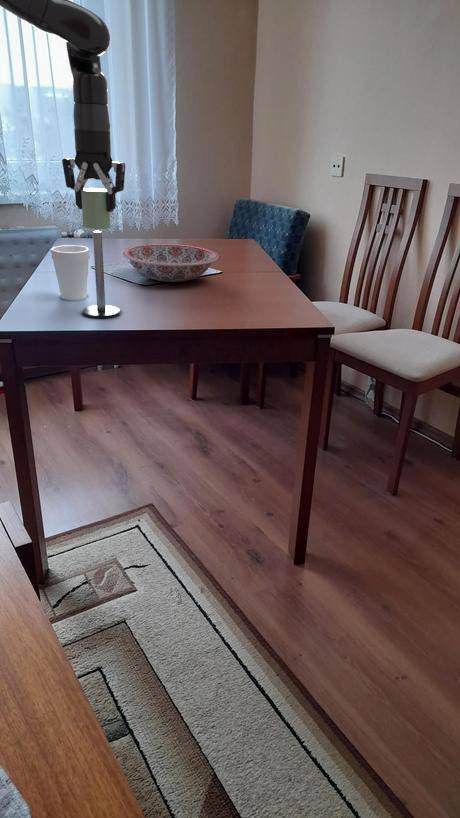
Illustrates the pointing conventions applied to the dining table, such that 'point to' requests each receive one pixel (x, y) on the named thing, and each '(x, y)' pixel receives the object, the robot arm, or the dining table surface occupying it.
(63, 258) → the foam cup
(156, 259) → the ceramic bowl
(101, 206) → the green cup
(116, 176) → the robot arm
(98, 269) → the towel holder
